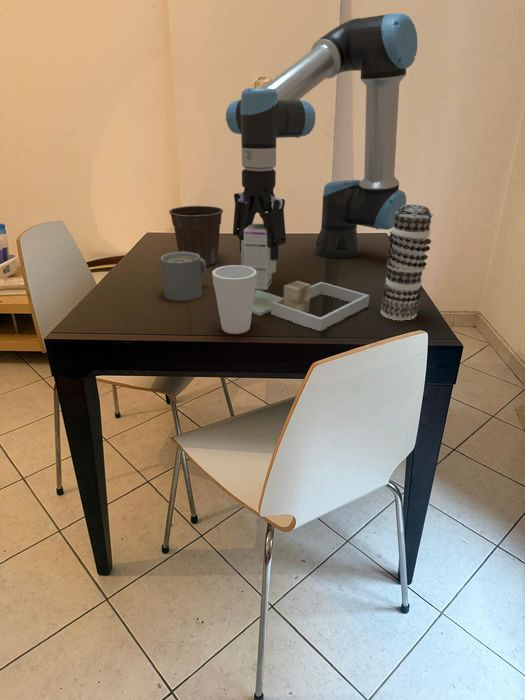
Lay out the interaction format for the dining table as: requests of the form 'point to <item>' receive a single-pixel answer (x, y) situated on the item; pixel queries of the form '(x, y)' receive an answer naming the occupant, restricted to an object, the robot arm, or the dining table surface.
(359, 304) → the parts bin
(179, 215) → the plant pot
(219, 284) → the foam cup
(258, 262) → the syrup box
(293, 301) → the beech block
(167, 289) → the coffee mug
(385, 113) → the robot arm
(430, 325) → the dining table surface
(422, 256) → the decorative candle
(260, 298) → the sage pad
